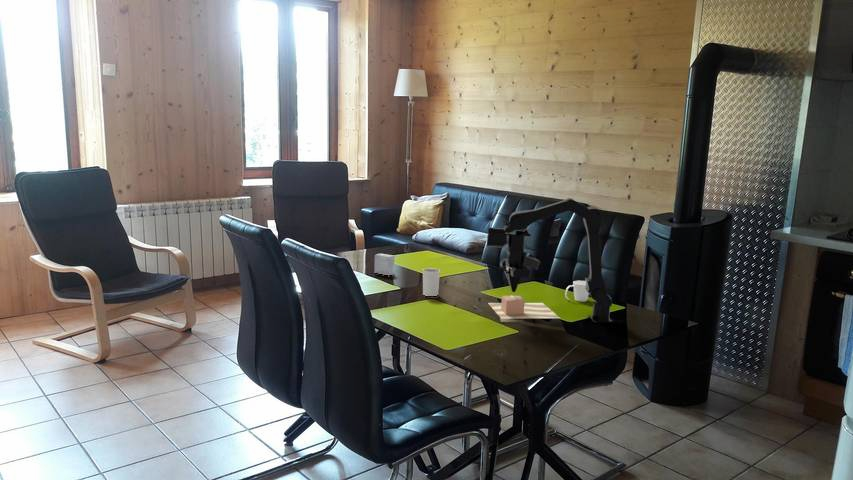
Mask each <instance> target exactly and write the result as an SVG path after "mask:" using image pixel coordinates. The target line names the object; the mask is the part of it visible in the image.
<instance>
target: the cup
mask: <svg viewBox="0 0 853 480" xmlns="http://www.w3.org/2000/svg"><path fill="white" fill-rule="evenodd" d="M569 288H573V296H574V297H573V298H574V300H575V301H576V302H582V303H584V302H587V301H588V298H589V296H590V294H589V293H588V292H587V290H586V289H585V288H586V281H585V280H574V281H573V282H572V285H571V284H570V285H568V286H567V287H566V288H565V293H564V296H565V298H566V299H567V300H568V301H570V302H571V301H572V300H571V299H570V298H569V297H568V290H569Z"/></svg>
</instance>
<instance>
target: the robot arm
mask: <svg viewBox="0 0 853 480" xmlns="http://www.w3.org/2000/svg"><path fill="white" fill-rule="evenodd" d="M567 212H572V213H574V214H576V215H577V216H579V217H581V218H582V220H583V221H582V222H583V224H584V227H585V231H586V233H587V234H586V235H587V245H588V246H587V248H588V260H589V261H588V263H589V275H588V277H585V278H584V281H586V288H585V289H586V290H587V292H588V293H589V296H590V297H591V299H592V300H593V305H592V306H593V307H592V316H591V315H590V316H588V319H589V320H591V321H592V322H594V323H595V324H596V323H597V324H600V323H601V324H602V323H603V324H604V323H610V324H611V323H613V322H614V321H613V320H612V319H611V318H610V315H611V314H610V311H611V307H612V305H613V302H614V300H613V299H612V298H611V296H610V295H609V294H608V291H607V290H608V289H607V286H606V283H605V280H604V279H605V278H604V275H603V270H602V253H601V237H600V234H601V229H602V223H603V222H602V221H603V214H602V212H601V211H600V210H599V209H598V208H597V207H595V206H586V205H584V204H582V203H580V202H578V201H577V200H575V199H573V198H571V197H568V198H565V199H564V200H561V201H558V202H555V203H550V204H547V205H545V206H542V207H538V208H536V209H526V210H517V211H514V212H512V213H510V216H509V218H508V222H507V223H506V224H505V225H504V226H503V228H502V227H491V226H489V227H488V228H487V237H486V247H489V248H504V246H506V245H507V249H506V250H505V253H506V254H507V258H501V260H500V261H499V266H500V268H504V267H506V268H505V269H506V270H505V269H504V274H505V277H506V279H507V282H508V285H509V287H510V290H511V292H512V293H516V292H517V288H518V286H519V283H520V280H521V279H522V278H531V276H532V271H531V270H530V269H529V268H533V269H534V270H537V271H538V269H539V265H540V264H541V261H540V260H539V259H537V258H535V257H534V254H532V253H529V252H528V253H527V252H526V251H525V244H526V243H525V242H526V237H531V232H529V230H528V229H527V227H529V226H530V225H532V224H534V223H536V222H538V221H540V220H543V219H547V218H550V217H554V216H557V215H560V214H563V213H567ZM523 229H524V230H523ZM507 236H508V237H507ZM527 267H529V268H527Z"/></svg>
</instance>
